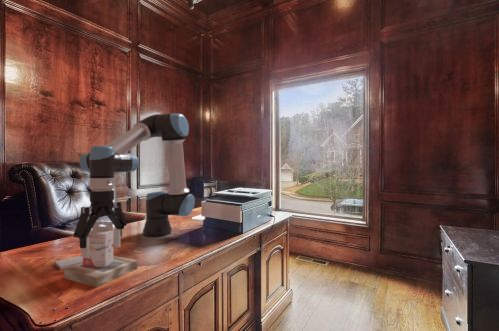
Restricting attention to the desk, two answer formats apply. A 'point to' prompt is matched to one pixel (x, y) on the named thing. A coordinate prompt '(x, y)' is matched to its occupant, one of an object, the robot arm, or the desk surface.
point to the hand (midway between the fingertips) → (102, 251)
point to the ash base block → (100, 272)
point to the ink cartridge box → (100, 245)
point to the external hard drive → (69, 262)
